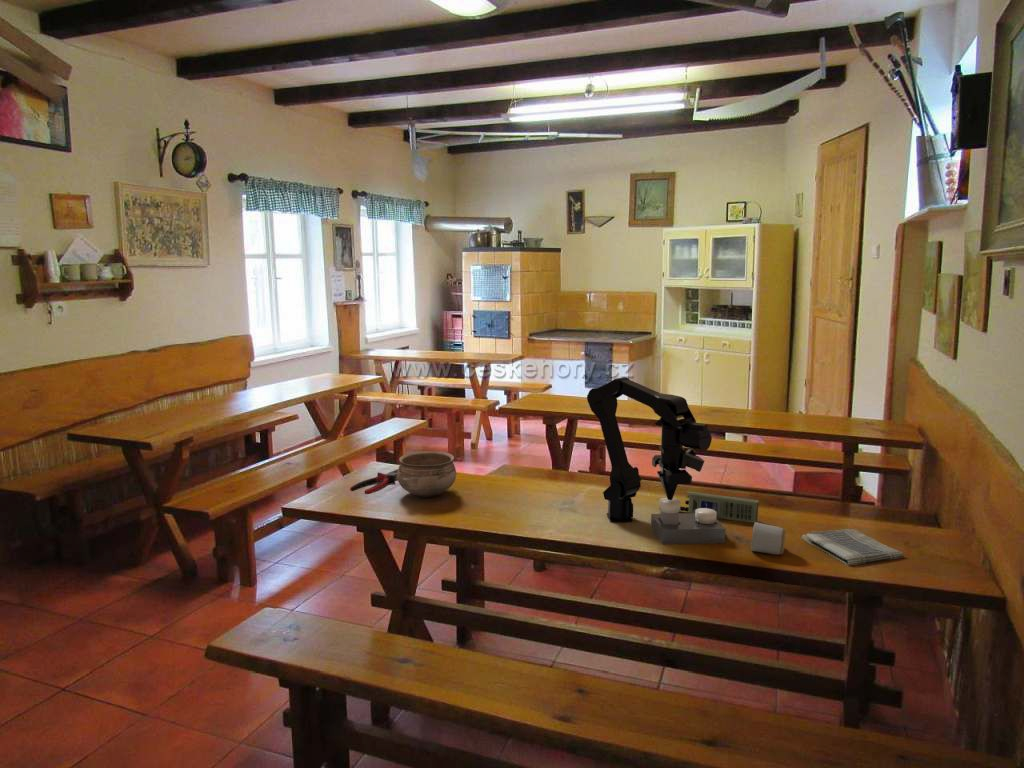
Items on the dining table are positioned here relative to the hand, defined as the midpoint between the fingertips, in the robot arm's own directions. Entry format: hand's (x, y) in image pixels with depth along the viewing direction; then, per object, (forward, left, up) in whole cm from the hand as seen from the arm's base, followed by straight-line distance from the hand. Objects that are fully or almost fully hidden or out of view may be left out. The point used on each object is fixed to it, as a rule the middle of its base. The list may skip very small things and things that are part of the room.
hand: (669, 499), depth 188 cm
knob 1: (0, 0, -7) cm, 7 cm away
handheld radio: (+17, +14, -11) cm, 25 cm away
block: (+23, -11, -11) cm, 27 cm away
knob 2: (+10, 0, -10) cm, 14 cm away
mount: (+5, 0, -10) cm, 11 cm away
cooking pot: (-69, +37, -10) cm, 79 cm away
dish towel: (+45, -11, -11) cm, 48 cm away
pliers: (-86, +51, -11) cm, 100 cm away
